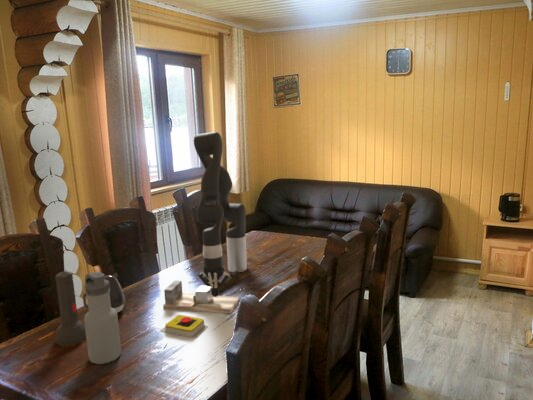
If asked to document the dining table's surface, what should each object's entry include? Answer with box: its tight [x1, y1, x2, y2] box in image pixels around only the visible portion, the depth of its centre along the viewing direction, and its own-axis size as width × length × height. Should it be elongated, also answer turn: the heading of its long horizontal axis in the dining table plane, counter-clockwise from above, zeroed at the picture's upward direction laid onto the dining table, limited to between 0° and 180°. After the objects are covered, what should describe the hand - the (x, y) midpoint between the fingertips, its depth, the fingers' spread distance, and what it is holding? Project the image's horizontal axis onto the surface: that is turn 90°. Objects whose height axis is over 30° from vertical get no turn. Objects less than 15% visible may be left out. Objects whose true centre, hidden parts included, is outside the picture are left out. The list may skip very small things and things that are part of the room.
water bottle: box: [82, 271, 122, 365], centre depth 137 cm, size 10×10×28 cm
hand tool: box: [219, 271, 240, 293], centre depth 194 cm, size 19×4×5 cm, turn 148°
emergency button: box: [160, 314, 209, 339], centre depth 156 cm, size 9×4×15 cm
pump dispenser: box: [105, 272, 126, 314], centre depth 170 cm, size 10×10×15 cm
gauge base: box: [162, 280, 240, 314], centre depth 175 cm, size 12×28×8 cm, turn 77°
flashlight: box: [54, 270, 86, 347], centre depth 149 cm, size 10×25×10 cm
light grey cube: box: [194, 285, 213, 304], centre depth 175 cm, size 6×5×5 cm
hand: (215, 295), depth 174 cm, fingers closed
